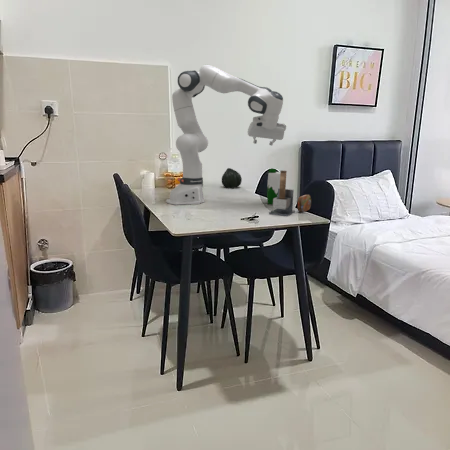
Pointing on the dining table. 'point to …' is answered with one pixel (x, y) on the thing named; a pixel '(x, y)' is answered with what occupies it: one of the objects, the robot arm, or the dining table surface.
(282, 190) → the brown wooden rod
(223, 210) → the dining table surface
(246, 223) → the dining table surface
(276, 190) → the milk carton
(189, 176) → the robot arm
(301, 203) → the tin
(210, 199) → the dining table surface
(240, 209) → the dining table surface
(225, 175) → the squash
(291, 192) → the bracket
